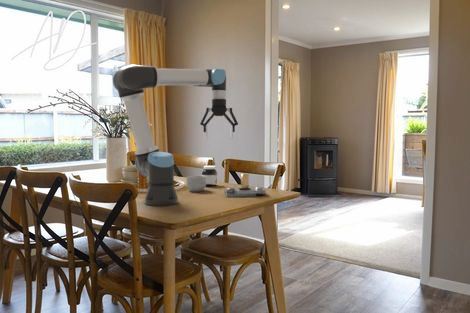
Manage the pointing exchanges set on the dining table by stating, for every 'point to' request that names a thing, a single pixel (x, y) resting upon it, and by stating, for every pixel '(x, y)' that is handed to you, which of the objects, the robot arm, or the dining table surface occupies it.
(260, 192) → the link
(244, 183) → the pin
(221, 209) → the dining table surface
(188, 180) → the teacup
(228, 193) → the link
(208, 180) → the spread jar
